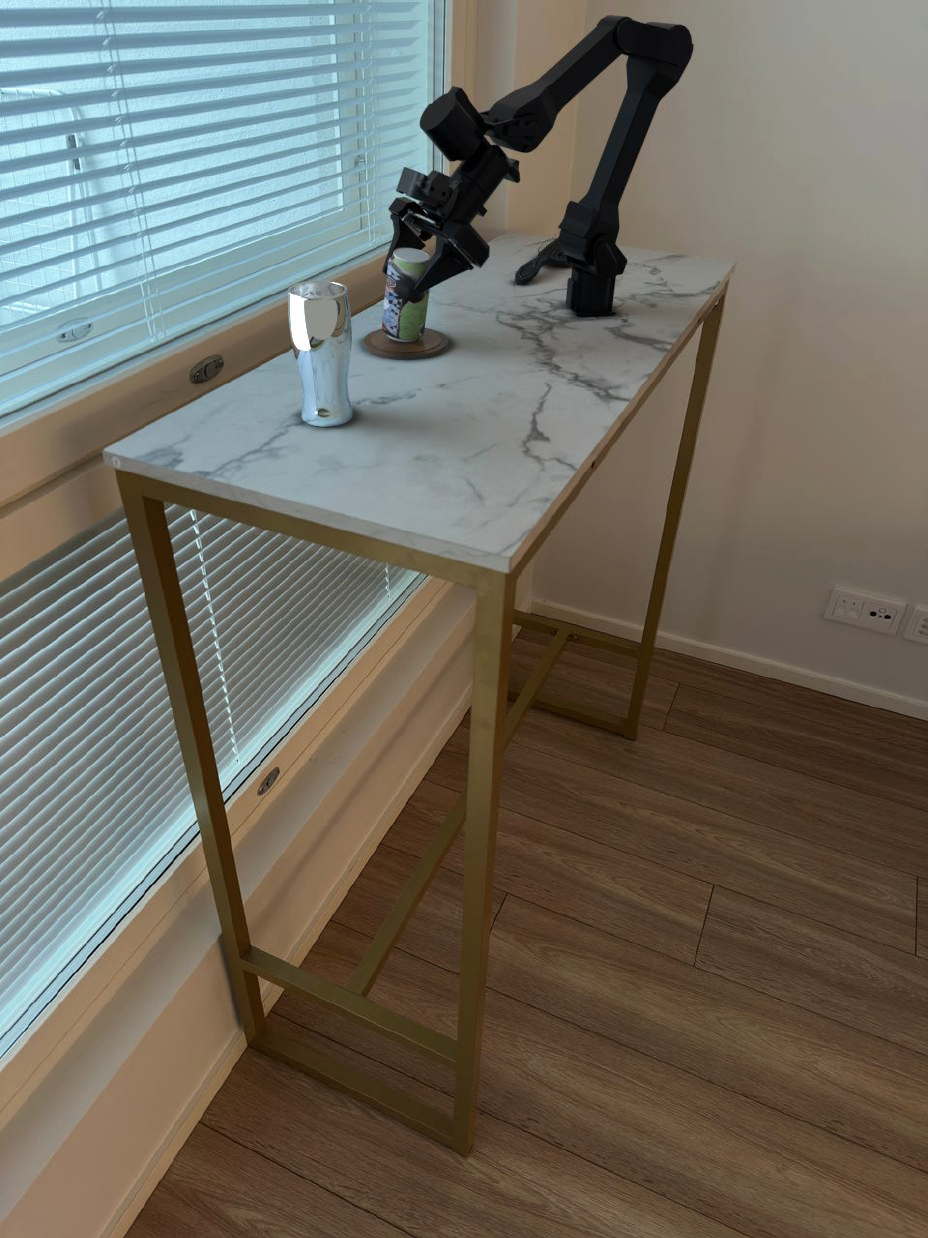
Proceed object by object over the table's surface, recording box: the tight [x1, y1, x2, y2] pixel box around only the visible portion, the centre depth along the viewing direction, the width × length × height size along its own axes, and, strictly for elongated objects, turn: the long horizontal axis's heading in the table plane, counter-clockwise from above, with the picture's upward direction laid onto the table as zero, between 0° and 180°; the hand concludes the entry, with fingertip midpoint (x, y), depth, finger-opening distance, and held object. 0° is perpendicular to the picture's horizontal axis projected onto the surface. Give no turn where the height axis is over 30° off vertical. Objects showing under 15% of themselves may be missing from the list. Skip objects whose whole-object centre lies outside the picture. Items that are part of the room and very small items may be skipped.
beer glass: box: [287, 280, 354, 428], centre depth 104 cm, size 7×7×15 cm
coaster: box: [363, 327, 449, 361], centre depth 129 cm, size 12×12×1 cm
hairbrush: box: [514, 233, 573, 286], centre depth 161 cm, size 8×4×25 cm
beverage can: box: [381, 248, 431, 342], centre depth 125 cm, size 6×7×12 cm
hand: (400, 282), depth 123 cm, fingers open, 9 cm apart
